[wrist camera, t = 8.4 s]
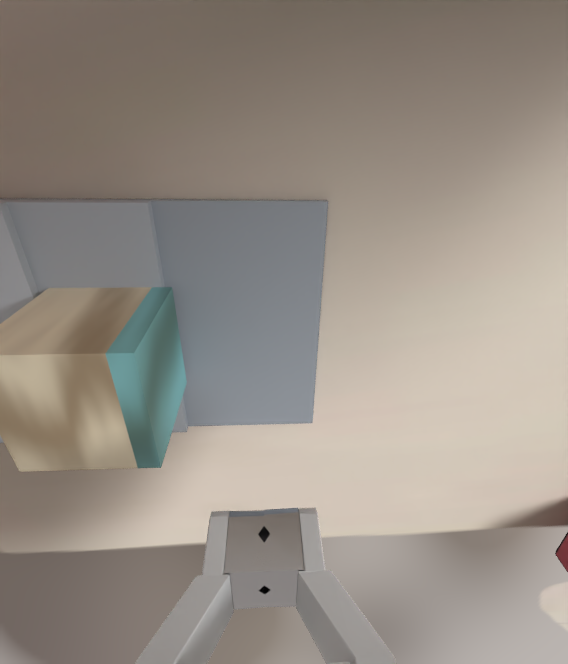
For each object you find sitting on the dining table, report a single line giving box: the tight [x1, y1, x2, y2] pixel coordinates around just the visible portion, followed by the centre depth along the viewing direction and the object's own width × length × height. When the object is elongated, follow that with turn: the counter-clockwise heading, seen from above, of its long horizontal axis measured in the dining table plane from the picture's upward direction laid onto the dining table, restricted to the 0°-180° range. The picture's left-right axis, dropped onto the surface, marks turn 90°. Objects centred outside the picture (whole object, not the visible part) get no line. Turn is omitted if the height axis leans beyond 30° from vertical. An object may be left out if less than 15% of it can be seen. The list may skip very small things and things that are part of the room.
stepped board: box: [0, 198, 328, 443], centre depth 19 cm, size 14×24×1 cm, turn 89°
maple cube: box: [0, 287, 187, 472], centre depth 17 cm, size 6×6×6 cm
